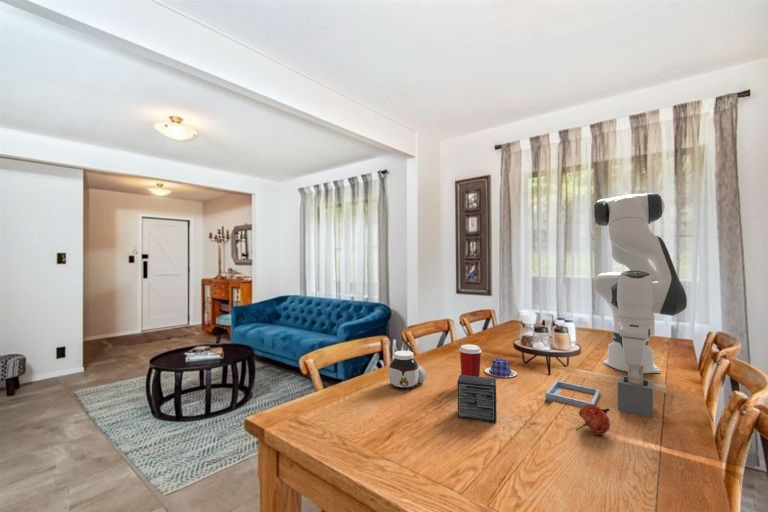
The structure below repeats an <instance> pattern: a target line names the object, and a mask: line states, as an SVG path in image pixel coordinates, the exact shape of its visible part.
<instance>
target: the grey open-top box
mask: <svg viewBox="0 0 768 512" xmlns="http://www.w3.org/2000/svg"><path fill="white" fill-rule="evenodd" d="M654 407H655V405H654V380H651V379H647V378H643V386H642V385H636V384H631V383H628V375H624V374H620V375H619V378H618V380H617V410H618V411H619V412H620V411H621V412H625V413H629V414H632V415H633V414H634V415H638V416H641V417H647V418H650V419H654V409H655V408H654Z"/></svg>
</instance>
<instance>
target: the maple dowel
mask: <svg viewBox="0 0 768 512" xmlns="http://www.w3.org/2000/svg"><path fill="white" fill-rule="evenodd" d="M627 376H628V383H631V384H636V385H642V386H643V379H644V373H643V365H642V366H641V367H639V377H638V378H637V377H632V376H631V368H630V365H628V372H627Z"/></svg>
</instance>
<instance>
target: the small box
mask: <svg viewBox="0 0 768 512" xmlns="http://www.w3.org/2000/svg"><path fill="white" fill-rule="evenodd" d="M456 382H457V418H458V419H463V420H469V421H471V420H472V421H478V422H484V423H491V424H497V422H498V421H497V417H498V416H497V413H498V412H497V377H496V378H495V377H486V376H485V377H483V376H479V377H476V376H466V375H461V374H460V375H459V376H458V379H457V381H456Z"/></svg>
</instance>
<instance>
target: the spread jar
mask: <svg viewBox="0 0 768 512" xmlns="http://www.w3.org/2000/svg"><path fill="white" fill-rule="evenodd" d="M414 354H415V353H414V352H412V351H410V350H397V351H395V352H394V353H393V355H394V358H393V359H392V360H391V362H390V364H389V369H388V379H389V382H390V385H391V386H392V387H393V388H394V389H396V390H401V391H407V390H408V391H409V389H410V390H412V389H414V388H415V387H416V386H417V385H418V383H419V384H422V383H424V382H425V381H426V380H427V372H426V370H425V369H424V368H423V366H421V365H420V364H419V363H418V362H417V360H416V359H415V358H414V356H415V355H414Z"/></svg>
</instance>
